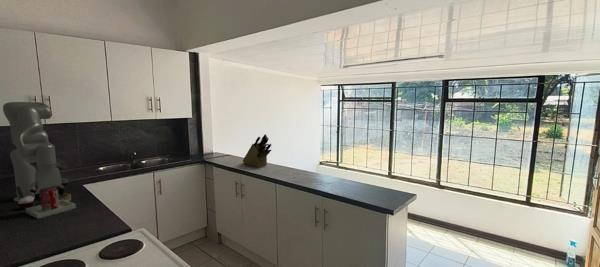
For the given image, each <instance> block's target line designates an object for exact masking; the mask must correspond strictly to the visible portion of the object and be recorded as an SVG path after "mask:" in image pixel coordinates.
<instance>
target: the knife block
mask: <svg viewBox="0 0 600 267" xmlns="http://www.w3.org/2000/svg"><path fill="white" fill-rule="evenodd" d="M268 141H269V137H268V136H267V134H263V136H262V138H261V137H260V136H258V137H257V138H256V140H255V142H254V143H252V144H251V146H250V148H249V149H248V151H247V153H246V154H245V156H244V158H243V159H242V162H243V163H244V164H245V165H249V166H252V167H256V168H259V167H260V168H261V167H266V166H267V164H268V158H267V157H268V155H270V153H271V151H272V149H270V148H271V147H272V143H268Z"/></svg>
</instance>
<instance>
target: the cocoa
mask: <svg viewBox="0 0 600 267" xmlns="http://www.w3.org/2000/svg"><path fill="white" fill-rule="evenodd" d="M15 188H17V191H18V193H19V196H20V198H21V199H20V200H19V201H17V206H18V208H19V209H21V210H26V208H30V207H34V202H35V201H34V200H35V199H34V198H33V197H32V196H26V197H24V195H23V193H22V191H21V188H20V186H18V187H16V186H15ZM17 191H16V192H17Z"/></svg>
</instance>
